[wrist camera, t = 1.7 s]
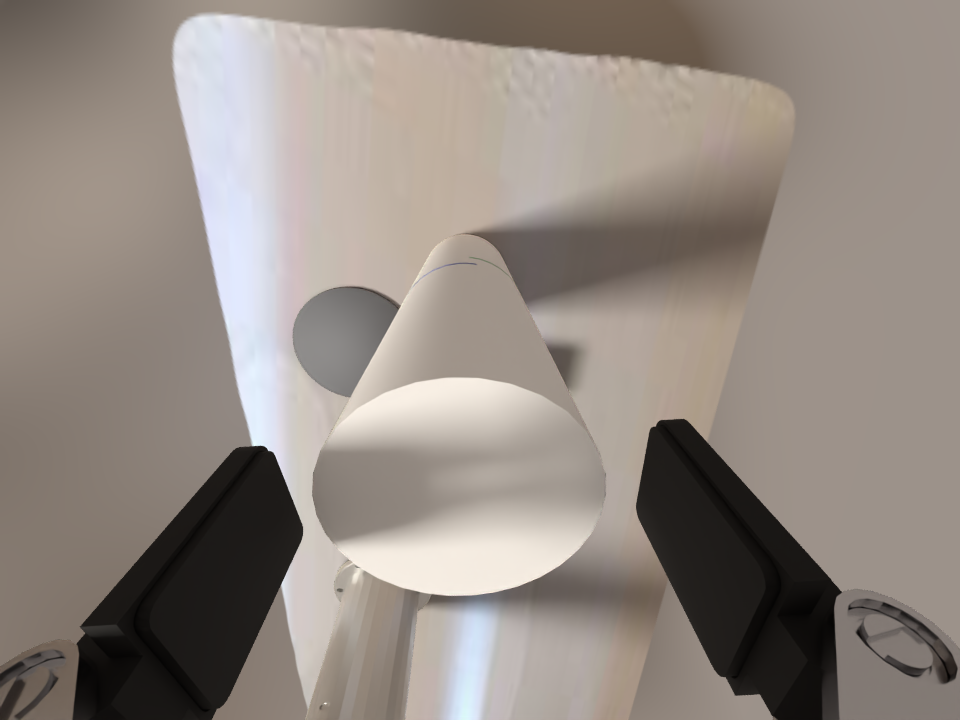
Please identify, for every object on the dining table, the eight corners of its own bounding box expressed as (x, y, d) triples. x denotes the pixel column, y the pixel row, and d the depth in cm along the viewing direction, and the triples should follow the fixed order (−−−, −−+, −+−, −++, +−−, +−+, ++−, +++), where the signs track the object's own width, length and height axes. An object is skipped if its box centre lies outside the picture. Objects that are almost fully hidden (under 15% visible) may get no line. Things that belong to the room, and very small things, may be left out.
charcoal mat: (381, 414, 37) (381, 416, 37) (276, 361, 34) (274, 363, 34) (437, 329, 34) (437, 330, 33) (324, 262, 31) (322, 263, 30)
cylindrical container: (418, 237, 30) (272, 390, 7) (505, 231, 30) (620, 365, 7) (429, 319, 33) (348, 604, 11) (507, 314, 33) (595, 586, 11)
